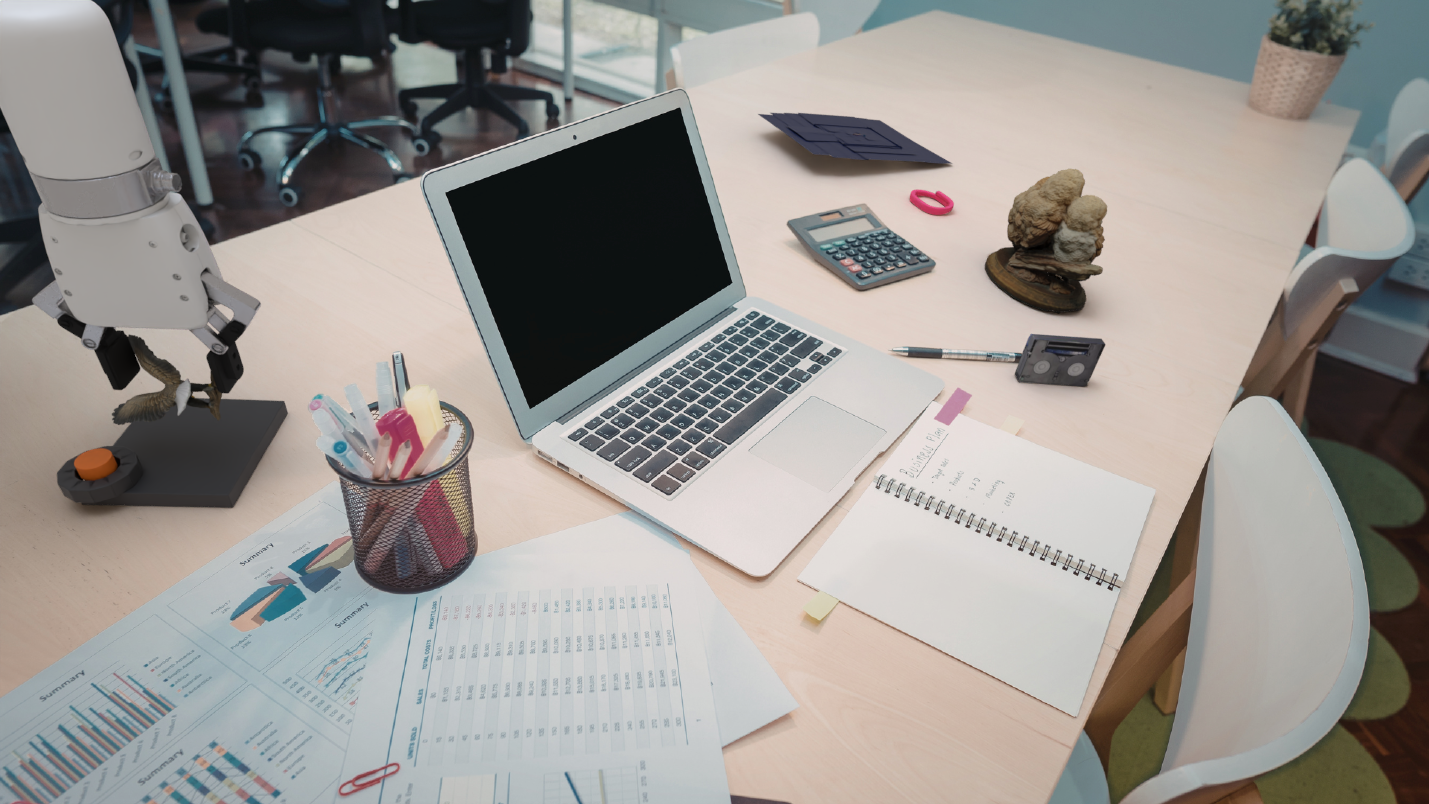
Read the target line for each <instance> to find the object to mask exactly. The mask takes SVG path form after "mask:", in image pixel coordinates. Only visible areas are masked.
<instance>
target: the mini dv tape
mask: <svg viewBox="0 0 1429 804" xmlns="http://www.w3.org/2000/svg"><path fill="white" fill-rule="evenodd" d="M1105 347H1106V343H1105V342H1104V340H1103V339H1102V338H1096V337H1085V336H1084V337H1083V336H1067V335H1053V334H1038V333H1030V334H1029V335H1028V338H1027V340H1026V343H1025V345H1024V348H1023V350H1022V353H1021V356H1020V359H1019V361H1018V363H1017V366H1016V368H1015V371H1014V376H1015V378H1016V380H1017V383H1024V384H1025V383H1026V384H1041V385H1052V386H1069V387H1070V386H1071V387H1081V388H1083V387H1084V388H1086V387H1087V386H1088V384H1089V382H1090V380H1091V378H1092V376H1093V374H1094V371H1095V369H1096V367H1097V365H1098V363H1099V360H1100V359H1101V356H1102V355H1103V351H1104V349H1105Z"/></svg>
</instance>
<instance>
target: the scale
mask: <svg viewBox="0 0 1429 804" xmlns="http://www.w3.org/2000/svg"><path fill="white" fill-rule="evenodd" d="M195 398H196V399H200V400H203V401H205V402H210V400H209V399H210V398H209V397H207V398H206V397H203V398H202V397H195ZM219 412H220V416H221V418H220V420H219V421H218V420H217V418H215V417H214V416H213V415H212V414H211V413H210V409H209V408H198V407H191V406H188V405H186V408H185V409H184V410H183V411H182V413H181V414H180V415H179V416H178V407H177V404H176V405H175V406H174V407H170V410H169V411H168V412H166V415H165V416H164V417H162V419H157V420H155V421H151V422H148V421H146V422H145V421H144V420H142V421H133V422H131V423H129V425H128V426H127V427H126V429H124V431H123V432H122V433H121V435H120V436H119V437H118V438H117V439H116V441H115V442H114V443H113V445H104V446H100V447H96V448H95V449H98V448H103V449H108V450H109V451H111V452H112V454H113V457H114V459H115V461H116V463H117V469H116V471H115V472H113V473H112V474H110V475H108V476H106V477H105V478H101V479H98V480H94V481H86V480H83V479H82V478H81V477H80V475H79V473H78V471H77V469H76V467H75V466H74V461H75V459H76V458H77V457H78V456H79V455H81V454H82V453H84V452H85V451H83V452H80V453H79V454H77V455H76V456H74V457H72V458H70V459H68V460H67V461H65V463H64V464H63V465H62V466H61V467H60V468H59V470H58V471H57V472H56V483H57V486H58V488H59V489H60V491H61V493H62V496H64V497H65V498H67V499H69V500H71V501H72V502H74V503H77V504H78V503H79V504H81V506H113V507H114V506H115V507H116V506H117V507H119V506H120V507H121V506H122V507H162V508H165V507H166V508H168V507H169V508H170V507H172V508H210V509H211V508H215V509H221V508H222V509H234V507H235V506H236V504H237V503H238V501H239V499H240V497H241V495H242V494H243V492H244V491H245V489H246V487H247V485H248V483H249V481H250V480H251V478H252V477H253V475H254V473H255V472H256V469H257V468H258V466H259V464H260V463H261V461H262V459H263V458H264V456H265V454H266V452H267V450H268V449H269V447H270V445H271V444H272V442H273V440H274V438H275V437H276V435H277V433H278V431H279V430H280V428H281V426H282V424H284V423H283V422H285V419H286V417H287V416H288V414H289V412H288V408H287V405H286V402H285V400H273V399H272V400H271V399H270V400H267V399H236V398H221V401H220V408H219ZM89 450H90V449H88V450H87V451H89Z"/></svg>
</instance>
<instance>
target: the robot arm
mask: <svg viewBox="0 0 1429 804" xmlns="http://www.w3.org/2000/svg"><path fill="white" fill-rule="evenodd" d="M0 111H1V113H2V115H3V118H4V119H5V121H6V123H7V126H8V128H9V131H10V132H11V135H12V138H13V139H14V142H15V144H16V146H17V148H18V151H19V153H20V155H21V158H22V160H23V162H24V165H25V166H26V168H27V171H28V173H29V176H30V178H31V180H32V182H33V185H34V187H35V189H36V191H37V194H38V196H39V198H40V201H41V203H40V204H39V205H38V207H37V209H38V210H37V211H38V219H39V225H40V230H41V235H42V241H43V244H44V248H45V252H46V254H47V257H48V260H49V261H48V262H49V263H50V266H51V270H52V273H53V275H54V278H55V280H53V281H52V282H51V283H49V284H48V285H47V286H45V287H44V288H43V289H42V290H40V291H39V292H38V293H37V294H35V295H34V296H33V297H32V299H31V302H32V304H33V305H34V306H36V307H37V308H38V309H39V310H41V311H42V312H43V313H45V314H46V315H47V316H49V317H51V318H52V319H55V320H56V322H57V324H58V326H60V328H62V329H64V330H66V331H67V332H69V333H70V334H72V335H74V336H75V337H77V338H79V339H80V343H81V345H82V347H84V348H85V349H87V350H89V351H94V353H95V356H96V358H97V360H98V362H99V364H100V367H101V369H102V371H103V373H104V374H105V376H106V377H107V379H108V381H109V384H110V386H111V388H112V390H114V391H123V390H124V389H126V388H127V387H128V386H129V384H130V383H131V382H132V381H133V380H134V379H135V378H136V376H137V375H138V374H139V373H140V371H141V365H140V363H139V361H138V359H137V357H136V355H135V353H134V351H133V349H132V346H131V344H130V342H129V339H128V337H127V336H128V334H126V333H125V331H124V330H117V328H124V329H125V328H126V329H128V328H129V329H151V330H152V329H153V330H179V331H180V330H181V331H183V330H185V331H189V332H190V333H191V334H193V335H194V336H195V337H196V339H198V340H199V341H200V342H201V343H202V344H203V345H205V347H207V348H208V349H209V351H208V353H206V355H205V357H206V361H207V364H208V368H209V370H210V371H211V373H212V376H213V378H214V381H215V384H216V387H217V389H218V391H219V392H220V393H222V394H225V395H226V394H227V395H228V394H230V393H231V391H232V390H233V389H234V387H235V386H236V384H237V383H238V381H239V380H240V379H241V378H242V377H243V375H244V373H245V372H244V371H245V367H244V364H243V361H242V358H241V355H240V352H239V348H238V346H237V343H236V341H237V340H239V338H241V336H242V335H243V334H244V333H245V331H247V329H248V327H249V326H250V325H251V323H252V321H253V320H254V318H255V317H256V315H257V314H258V312H259V310H260V308H261V307H262V303H261V301H260V300H259V299H258V298H256V297H254V296H252V295H250V294H248V293H247V292H245V291H243V290H241V289H239V288H237V287H236V286H234V285H233V284H231V283H228V282H227V281H225V280H224V278H223V274H222V271H221V269H220V267H219V265H218V262H217V260H216V256H215V254H214V252H213V250H212V248H211V245H210V244H209V241H208V239H207V237H206V234H205V233H204V231H203V229H202V226H201V225H200V223H199V222H198V220H197V218H196V217H195V214H194V212H193V211H192V210H191V208H190V206H189V205H188V204H187V202H186V200H185V199H184V198H183V196H182V195H181V194H180V193H179V192H180V191H181V190H182V188H183V187H182V186H183V183H182V182H183V181H182V178H181V176H180V174H178V172H169V171H167V170H164V169H163V167H162V163H161V160H160V158H159V157H157V155H156V152H155V150H154V146H153V143H152V141H151V138H150V137H151V136H150V134H149V132H148V128H147V126H146V122H145V120H144V117H143V114H142V110H141V107H140V105H139V102H138V99H137V96H136V93H135V91H134V88H133V85H132V82H131V78H130V76H129V73H128V70H127V66H126V64H125V61H124V58H123V55H122V52H121V49H120V47H119V44H118V41H117V38H116V34H115V32H114V30H113V27H112V24H111V22H110V19H109V18H108V16H107V14H106V13H105V11H104V10H103V9H102V8H101V6H100V5H98V4H97V3H96V2H95V1H93V0H0ZM219 305H222V306H224V307H226V308H228V309H230V310H231V311H232V312H233V317H232V319H229V318H228V317H227V316H226V315H225V314H224V313H223V312H222V311H221V310H219V309H218V308H217V307H216V306H219ZM209 325H211V326H212V327H213V328H214V329H215V330H216V331H217V332H218V333H217V332H216V331H215V330H214V329H213V328H211V326H209Z"/></svg>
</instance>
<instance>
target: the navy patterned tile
mask: <svg viewBox="0 0 1429 804" xmlns="http://www.w3.org/2000/svg"><path fill="white" fill-rule="evenodd" d="M757 115H758V116H759V117H761V118H763V120H765V121H767V122H768V123H769V124H772V126H774V127H775V128H777V129H778V130H779V131H781V132H782V133H783V134H785V135H786V136H788V137H789V138H791V139H792V140H793V141H794V142H796V143H797V144H799V145H800V146H802V147H803V148H804V149H806V150H807V151H808V152H810V153H811V154H812V155H817V156H818V155H819V156H830V157H832V158H836V159H838V158H839V159H850V160H860V161H861V160H862V161H870V160H875V161H876V160H877V161H894V162H895V161H896V162H897V161H898V162H899V161H900V162H919V163H920V162H921V163H931V164H945V165H946V164H947V165H948V164H950V165H953V164H954V163H952V162H951V161H949V160H947V159H946V158H945V157H942V156H940V155H939V154H937V153H935V152H933V151H932V150H929V149H928V148H926V147H924V146H923V145H922V144H921V145H920V144H919V143H917V142H916V141H914V140H912V139H911V138H909V137H907V136H906V135H904V134H903V133H901V132H900V131H898V130H896V129H895V128H893V127H891V126H890V125H888V124H887V123H885V122H884V121H882V120H880V119H871V118H863V117H855V116H848V115H833V114H821V113H820V114H819V113H807V112H796V113H794V112H770V114H764V113H757Z"/></svg>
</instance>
